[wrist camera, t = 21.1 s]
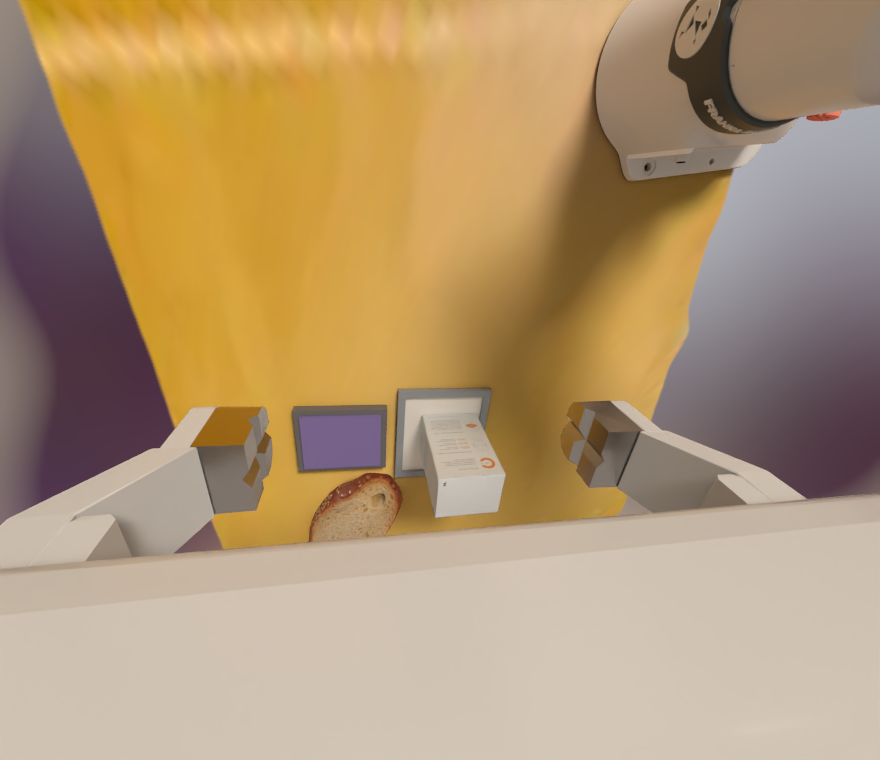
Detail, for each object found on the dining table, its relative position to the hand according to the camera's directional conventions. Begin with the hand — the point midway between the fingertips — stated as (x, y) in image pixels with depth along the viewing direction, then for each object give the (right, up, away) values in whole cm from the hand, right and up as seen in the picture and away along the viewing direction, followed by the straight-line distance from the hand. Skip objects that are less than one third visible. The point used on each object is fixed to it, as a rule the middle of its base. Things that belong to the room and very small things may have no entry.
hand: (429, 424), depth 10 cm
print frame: (0, -7, +44) cm, 45 cm away
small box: (+1, -6, +44) cm, 44 cm away
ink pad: (-13, -7, +41) cm, 44 cm away
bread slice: (-13, -22, +50) cm, 56 cm away
